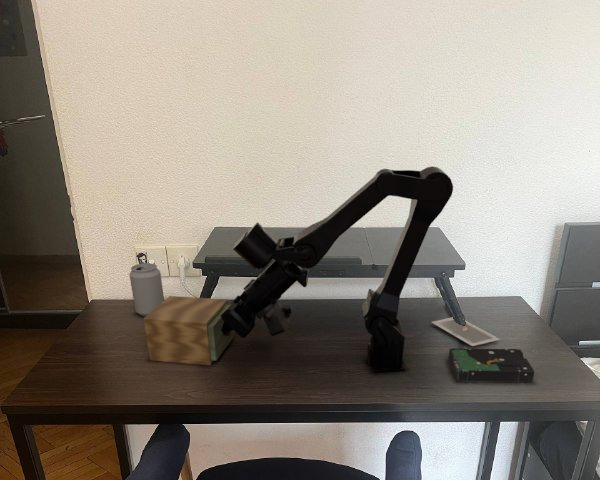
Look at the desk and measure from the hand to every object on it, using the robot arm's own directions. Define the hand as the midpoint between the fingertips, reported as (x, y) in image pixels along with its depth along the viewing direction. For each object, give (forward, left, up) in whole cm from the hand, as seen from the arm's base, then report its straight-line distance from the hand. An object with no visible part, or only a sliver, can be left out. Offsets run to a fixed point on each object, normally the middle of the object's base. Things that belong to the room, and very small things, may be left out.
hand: (223, 331), depth 121 cm
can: (+18, -31, -7) cm, 36 cm away
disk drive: (-53, +14, -7) cm, 55 cm away
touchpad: (-55, -4, -7) cm, 56 cm away
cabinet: (+7, -6, -6) cm, 12 cm away
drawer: (+5, -6, -5) cm, 9 cm away
